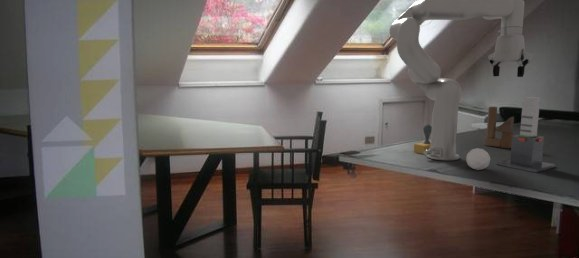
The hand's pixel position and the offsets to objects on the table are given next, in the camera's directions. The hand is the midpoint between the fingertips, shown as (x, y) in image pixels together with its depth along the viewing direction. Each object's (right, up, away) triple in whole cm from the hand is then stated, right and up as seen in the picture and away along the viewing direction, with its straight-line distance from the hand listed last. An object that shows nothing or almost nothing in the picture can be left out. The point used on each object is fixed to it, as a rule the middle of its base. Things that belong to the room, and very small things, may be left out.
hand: (507, 76), depth 166 cm
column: (+1, -27, -12) cm, 30 cm away
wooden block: (+8, -29, +25) cm, 39 cm away
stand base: (+1, -34, -11) cm, 36 cm away
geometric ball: (-19, -36, -16) cm, 43 cm away
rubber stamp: (-28, -31, +14) cm, 44 cm away
